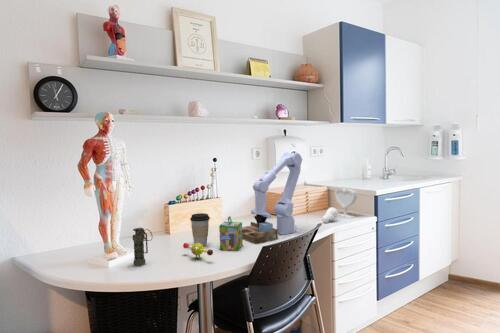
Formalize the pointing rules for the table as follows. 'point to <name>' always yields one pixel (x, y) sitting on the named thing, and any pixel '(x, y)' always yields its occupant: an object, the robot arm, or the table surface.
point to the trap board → (258, 234)
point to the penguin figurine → (330, 215)
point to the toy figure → (197, 249)
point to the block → (265, 227)
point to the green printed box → (230, 235)
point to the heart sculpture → (345, 199)
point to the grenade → (139, 246)
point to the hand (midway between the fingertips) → (261, 229)
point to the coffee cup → (200, 228)
